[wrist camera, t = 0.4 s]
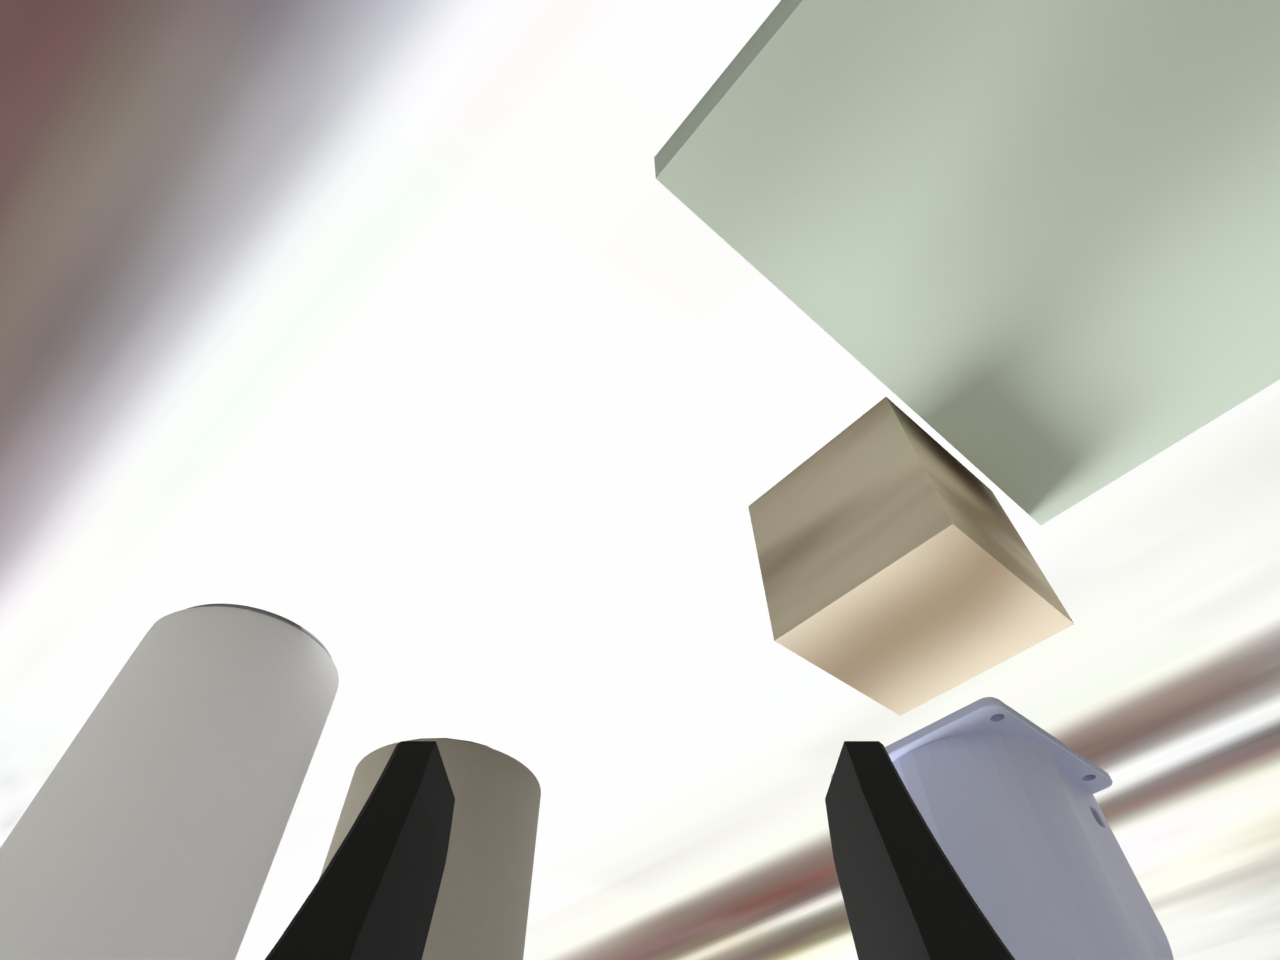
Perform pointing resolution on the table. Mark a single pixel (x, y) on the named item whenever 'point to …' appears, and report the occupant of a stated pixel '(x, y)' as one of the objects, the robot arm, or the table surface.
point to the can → (170, 795)
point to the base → (1014, 213)
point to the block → (897, 565)
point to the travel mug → (472, 849)
